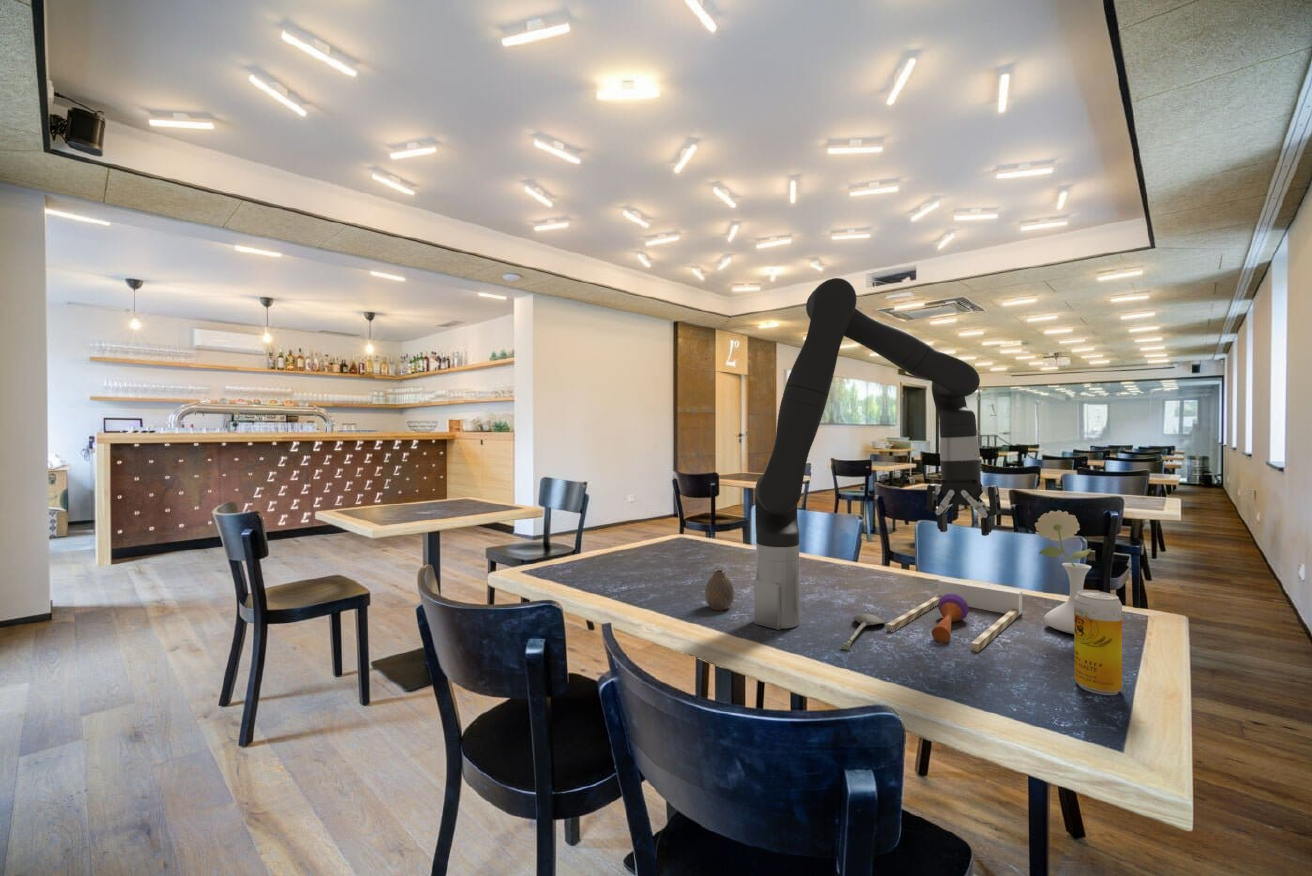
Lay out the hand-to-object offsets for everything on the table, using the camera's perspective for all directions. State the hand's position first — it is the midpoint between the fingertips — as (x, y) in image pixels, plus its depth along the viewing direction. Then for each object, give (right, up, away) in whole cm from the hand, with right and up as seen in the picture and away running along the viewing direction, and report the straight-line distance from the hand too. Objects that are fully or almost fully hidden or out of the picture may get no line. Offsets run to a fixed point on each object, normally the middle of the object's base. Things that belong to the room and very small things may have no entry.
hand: (964, 533), depth 124 cm
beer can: (+5, -20, -31) cm, 37 cm away
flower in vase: (+21, -20, -4) cm, 29 cm away
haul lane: (-1, -20, +2) cm, 20 cm away
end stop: (+11, -20, +14) cm, 26 cm away
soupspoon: (-24, -21, -5) cm, 32 cm away
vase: (-51, -20, +13) cm, 57 cm away
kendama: (-4, -20, -2) cm, 21 cm away
